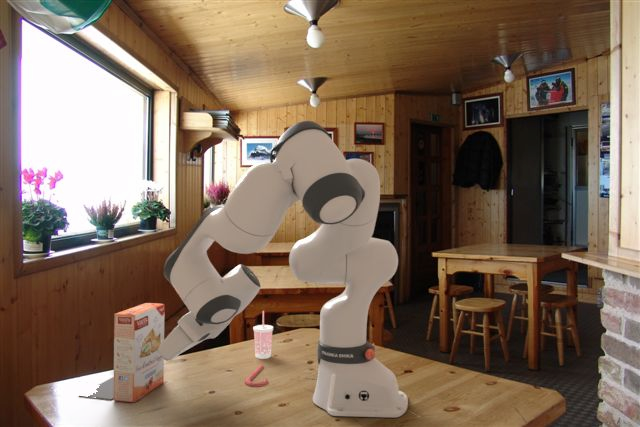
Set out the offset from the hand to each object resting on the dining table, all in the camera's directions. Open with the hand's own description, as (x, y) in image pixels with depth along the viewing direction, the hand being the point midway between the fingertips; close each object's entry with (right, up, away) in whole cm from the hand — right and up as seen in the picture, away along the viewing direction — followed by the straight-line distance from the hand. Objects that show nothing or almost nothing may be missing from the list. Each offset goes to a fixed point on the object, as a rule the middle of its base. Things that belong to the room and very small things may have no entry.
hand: (170, 357), depth 122 cm
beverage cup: (+19, -9, +31) cm, 38 cm away
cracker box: (-8, -9, +2) cm, 13 cm away
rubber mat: (-16, -9, +4) cm, 19 cm away
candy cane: (+20, -10, +14) cm, 26 cm away
